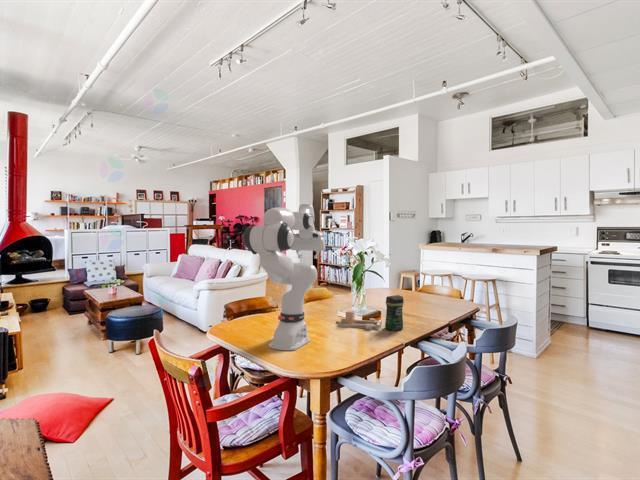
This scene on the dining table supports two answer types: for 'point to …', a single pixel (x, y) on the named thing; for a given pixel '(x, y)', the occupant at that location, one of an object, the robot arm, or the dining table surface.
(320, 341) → the dining table surface
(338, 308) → the dining table surface
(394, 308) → the coffee jar
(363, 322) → the comb track
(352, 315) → the marker sleeve
